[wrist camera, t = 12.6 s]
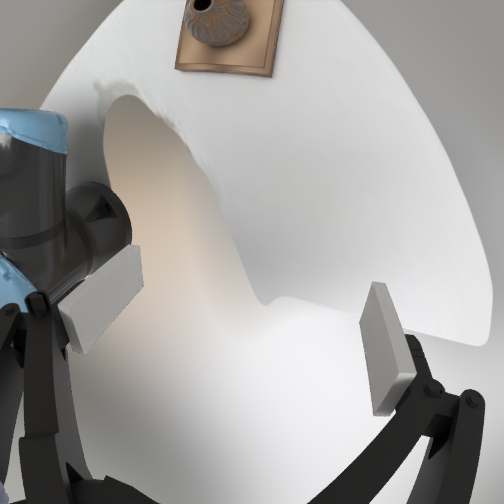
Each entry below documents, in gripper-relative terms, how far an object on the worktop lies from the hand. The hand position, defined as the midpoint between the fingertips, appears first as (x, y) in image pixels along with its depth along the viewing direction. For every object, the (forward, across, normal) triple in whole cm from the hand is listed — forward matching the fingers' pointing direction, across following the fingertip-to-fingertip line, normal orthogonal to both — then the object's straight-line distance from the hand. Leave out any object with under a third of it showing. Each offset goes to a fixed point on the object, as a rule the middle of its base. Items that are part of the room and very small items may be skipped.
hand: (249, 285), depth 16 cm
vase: (+22, -9, +20) cm, 31 cm away
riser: (+25, -9, +20) cm, 34 cm away
